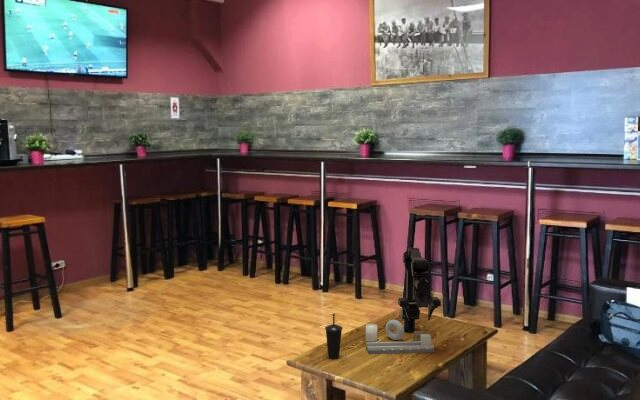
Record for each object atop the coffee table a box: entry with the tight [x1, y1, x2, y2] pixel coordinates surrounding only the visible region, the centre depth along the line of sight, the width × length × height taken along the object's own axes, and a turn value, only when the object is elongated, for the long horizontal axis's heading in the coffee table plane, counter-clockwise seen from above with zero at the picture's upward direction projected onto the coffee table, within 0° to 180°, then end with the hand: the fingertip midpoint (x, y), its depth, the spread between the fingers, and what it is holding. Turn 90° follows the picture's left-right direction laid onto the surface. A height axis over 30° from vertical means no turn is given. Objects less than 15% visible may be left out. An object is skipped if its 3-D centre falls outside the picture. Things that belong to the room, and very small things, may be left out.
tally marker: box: [420, 333, 432, 346], centre depth 274 cm, size 4×4×5 cm
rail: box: [365, 341, 435, 355], centre depth 273 cm, size 8×30×3 cm, turn 93°
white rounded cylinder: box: [365, 323, 378, 343], centre depth 286 cm, size 6×6×7 cm
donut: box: [384, 319, 405, 341], centre depth 286 cm, size 10×4×10 cm, turn 50°
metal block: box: [413, 330, 427, 342], centre depth 285 cm, size 5×5×4 cm
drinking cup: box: [324, 313, 343, 360], centre depth 264 cm, size 8×8×20 cm
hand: (418, 320), depth 271 cm, fingers open, 9 cm apart
